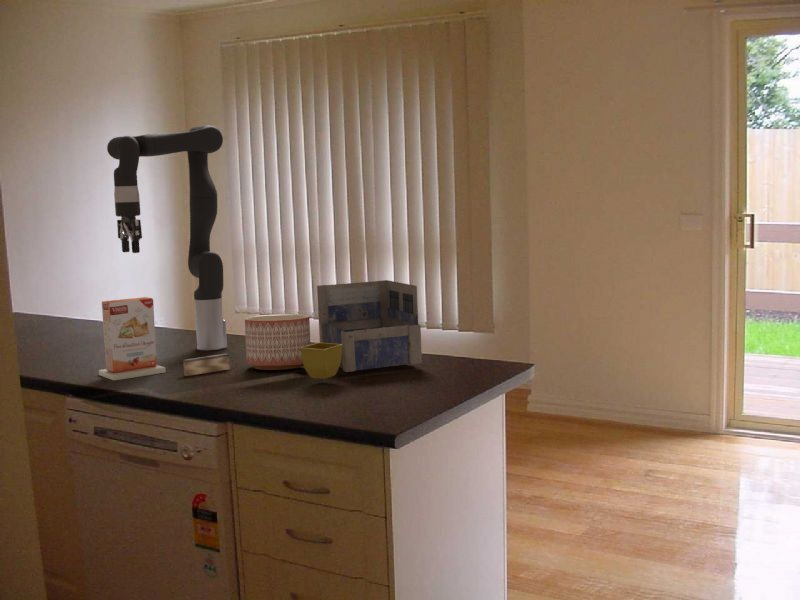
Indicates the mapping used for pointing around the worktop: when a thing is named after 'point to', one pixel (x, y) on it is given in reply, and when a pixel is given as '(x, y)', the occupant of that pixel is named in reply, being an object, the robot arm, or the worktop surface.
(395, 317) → the building
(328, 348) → the flower pot
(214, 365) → the tear rail
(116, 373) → the plate
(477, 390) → the worktop surface
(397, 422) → the worktop surface
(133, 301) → the cracker box
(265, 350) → the planter
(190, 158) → the robot arm
